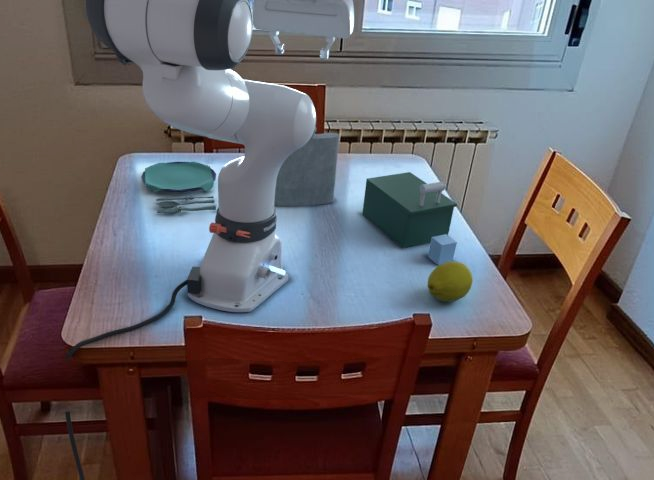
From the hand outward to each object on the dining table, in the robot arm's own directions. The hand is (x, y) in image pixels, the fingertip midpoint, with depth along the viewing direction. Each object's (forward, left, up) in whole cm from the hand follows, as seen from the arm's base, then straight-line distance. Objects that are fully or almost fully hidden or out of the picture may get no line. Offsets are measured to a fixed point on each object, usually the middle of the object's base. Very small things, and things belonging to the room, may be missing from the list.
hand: (301, 55), depth 126 cm
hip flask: (+13, +2, -39) cm, 41 cm away
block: (-1, -36, -39) cm, 53 cm away
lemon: (-17, -39, -39) cm, 58 cm away
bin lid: (+11, -25, -30) cm, 40 cm away
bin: (+11, -25, -39) cm, 47 cm away
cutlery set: (+7, +34, -39) cm, 52 cm away
